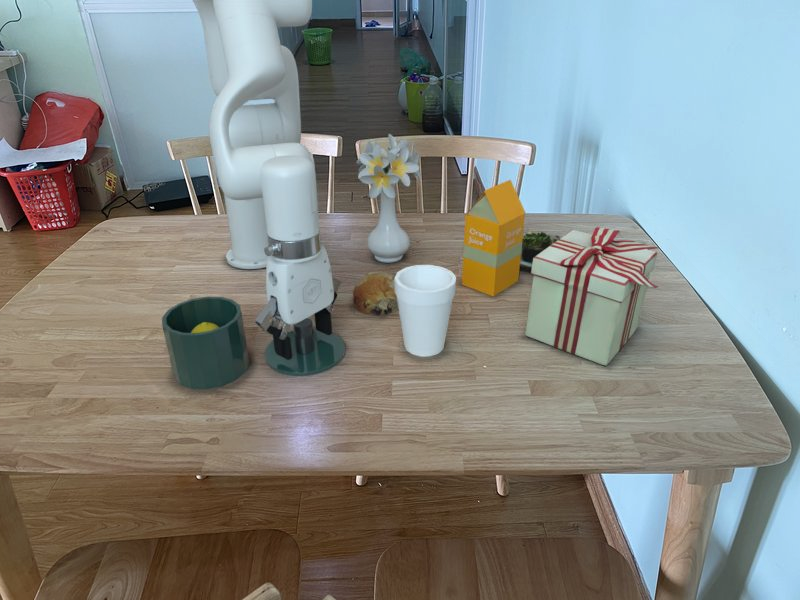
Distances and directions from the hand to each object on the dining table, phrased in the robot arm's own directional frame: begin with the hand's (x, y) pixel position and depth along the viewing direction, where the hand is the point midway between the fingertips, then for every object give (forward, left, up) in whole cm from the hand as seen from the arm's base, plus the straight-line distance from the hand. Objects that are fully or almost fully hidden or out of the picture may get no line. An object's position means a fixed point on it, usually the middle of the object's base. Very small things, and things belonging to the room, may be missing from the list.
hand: (304, 343), depth 96 cm
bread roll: (-20, -5, -3) cm, 20 cm away
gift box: (-40, +27, -3) cm, 48 cm away
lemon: (+13, -7, -2) cm, 15 cm away
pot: (+13, -7, -2) cm, 15 cm away
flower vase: (-35, -19, -3) cm, 39 cm away
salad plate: (-59, +3, -3) cm, 59 cm away
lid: (0, 0, -2) cm, 2 cm away
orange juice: (-42, +3, -3) cm, 42 cm away
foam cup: (-16, +11, -3) cm, 19 cm away
